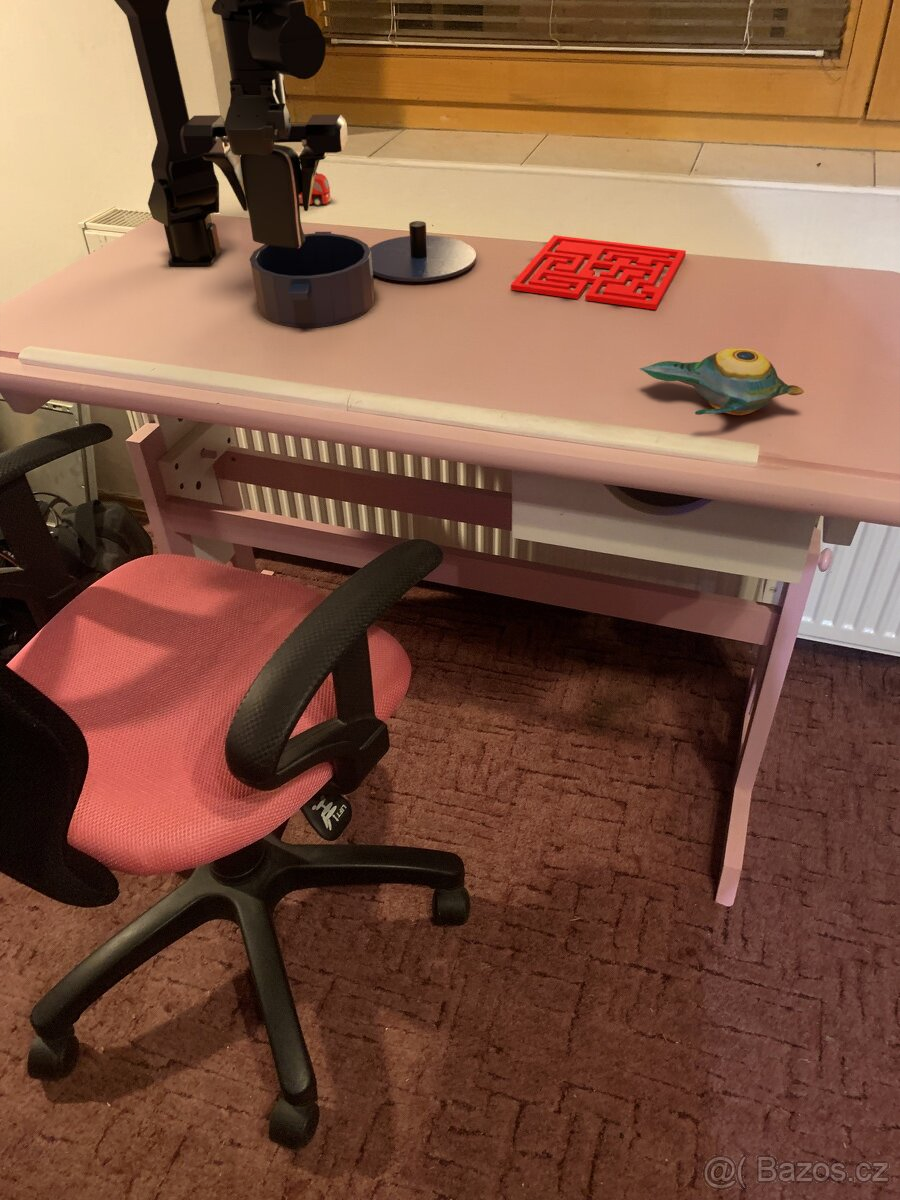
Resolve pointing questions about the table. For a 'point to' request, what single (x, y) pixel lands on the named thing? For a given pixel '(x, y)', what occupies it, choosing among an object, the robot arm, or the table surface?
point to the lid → (421, 256)
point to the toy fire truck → (319, 191)
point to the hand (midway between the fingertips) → (276, 210)
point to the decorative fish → (728, 380)
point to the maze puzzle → (615, 288)
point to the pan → (314, 281)
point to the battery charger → (274, 196)
